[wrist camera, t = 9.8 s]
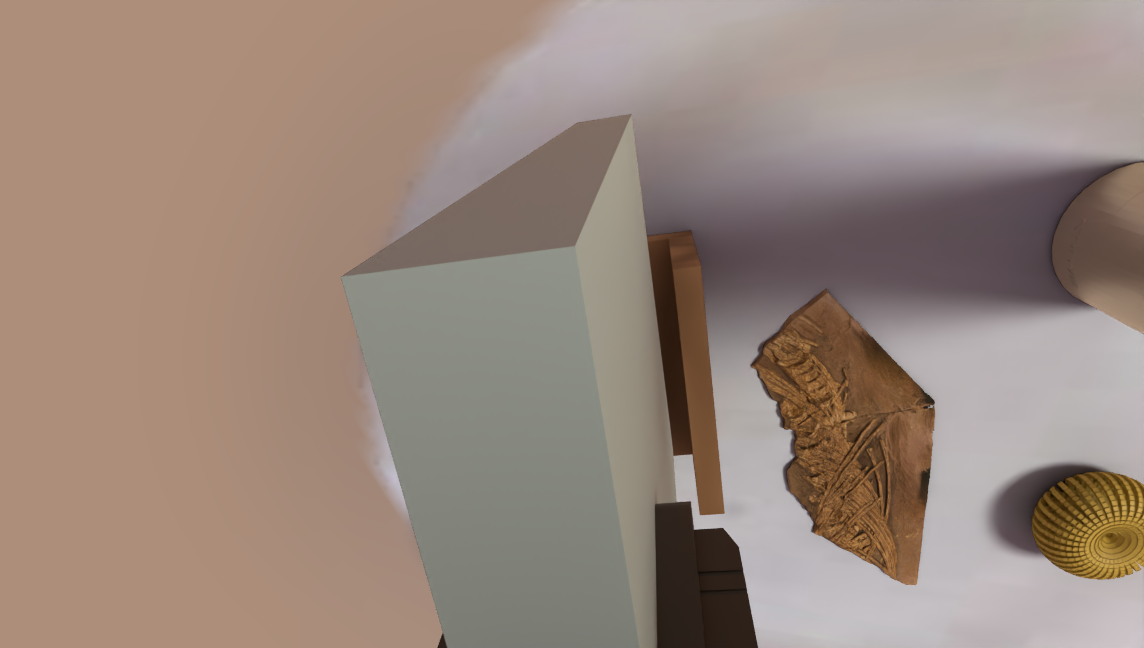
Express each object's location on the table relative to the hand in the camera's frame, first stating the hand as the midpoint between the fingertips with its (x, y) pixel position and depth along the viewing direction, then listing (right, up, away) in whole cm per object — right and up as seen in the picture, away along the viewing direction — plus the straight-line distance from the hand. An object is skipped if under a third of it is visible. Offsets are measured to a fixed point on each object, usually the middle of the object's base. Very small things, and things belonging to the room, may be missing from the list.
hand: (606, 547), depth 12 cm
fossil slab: (+20, -5, +36) cm, 42 cm away
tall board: (+2, +5, +14) cm, 15 cm away
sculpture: (+36, -9, +35) cm, 51 cm away
